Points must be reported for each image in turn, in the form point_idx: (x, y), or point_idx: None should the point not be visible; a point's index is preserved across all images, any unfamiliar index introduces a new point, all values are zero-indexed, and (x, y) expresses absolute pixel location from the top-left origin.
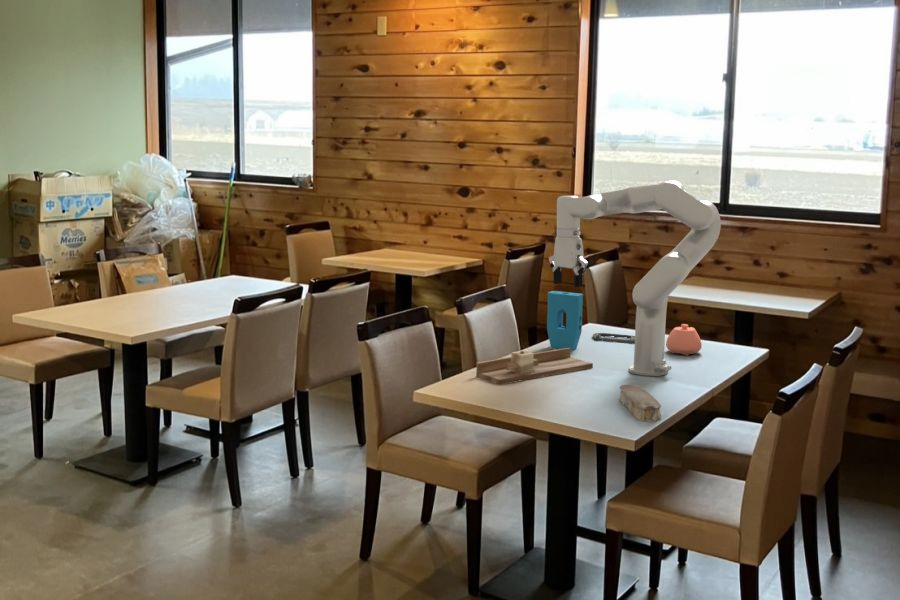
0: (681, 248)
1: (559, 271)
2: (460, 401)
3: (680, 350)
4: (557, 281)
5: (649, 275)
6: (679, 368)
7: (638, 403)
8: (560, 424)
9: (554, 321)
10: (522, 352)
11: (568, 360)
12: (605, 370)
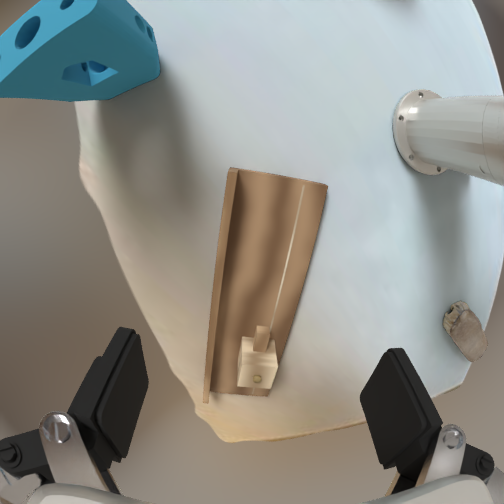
0: None
1: (100, 435)
2: (283, 437)
3: None
4: (141, 380)
5: None
6: (444, 67)
7: (471, 361)
8: None
9: (72, 88)
10: (259, 380)
11: (262, 207)
12: (359, 183)
